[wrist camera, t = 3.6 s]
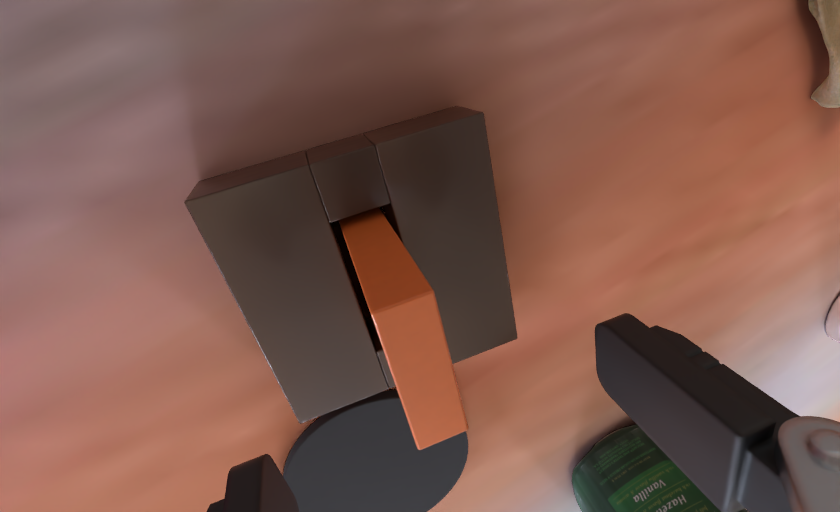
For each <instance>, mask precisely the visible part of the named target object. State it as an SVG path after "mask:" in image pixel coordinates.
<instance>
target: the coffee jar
mask: <svg viewBox="0 0 840 512" xmlns="http://www.w3.org/2000/svg"><path fill="white" fill-rule="evenodd" d="M572 484H573V489H574V494H575V497H576V500H577V503H578V505H579V507H580V509H581V511H582V512H721V511H720V510H719V509H718V508H717V507H716V506H715V505H714V504H713V503H712V502H711V501H710V500H709V499H708V498H707V497H706V496H705V495H704V494H703V493H702V492H701V491H700V489H699V488H698V487H697V486H696V485H695V484H694V483H693V482H692V481H691V480H690V479H689V478H688V477H687V476H686V475H685V474H684V473H683V472H682V471H681V470H680V469H679V468H678V467H677V466H676V465H675V463H674V462H673V461H672V460H671V459H670V458H669V457H668V456H667V455H666V454H665V453H664V452H663V451H662V450H661V449H660V448H659V447H658V446H657V445H656V444H655V443H654V442H653V441H652V440H651V439H650V437H649V436H648V435H647V434H646V433H645V432H644V431H643V430H642V429H641V428H640V427H639V426H638V425H637V424H636V425H632V426H629V427H624V428H621V429H619V430H616V431H614V432H612V433H611V434H609V435H607V436H605V437H604V438H603V439H601V440H600V441H599V442H597V443H596V444H595V446H594V447H593V448H592V449H591V451H589V452H588V454H587V455H586V456H585V457H584V458H583V459H582V460H581V461H580V462H579V463H578V465H576V467H575V468H574V470H573V474H572ZM738 512H748V511H747V510H746V509H745V508H744V509H742V510H740V511H738Z"/></svg>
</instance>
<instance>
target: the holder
mask: <svg viewBox="0 0 840 512" xmlns="http://www.w3.org/2000/svg"><path fill="white" fill-rule="evenodd" d="M185 204H186V206H187V208H188V210H189V212H190V214H191V216H192V218H193V220H194V222H195V224H196V226H197V227H198V229H199V231H200V233H201V235H202V237H203V239H204V241H205V243H206V245H207V247H208V249H209V250H210V252H211V254H212V256H213V258H214V260H215V262H216V264H217V266H218V268H219V270H220V272H221V274H222V275H223V277H224V279H225V281H226V283H227V285H228V287H229V289H230V291H231V293H232V295H233V297H234V298H235V300H236V302H237V304H238V306H239V308H240V310H241V312H242V314H243V316H244V318H245V320H246V321H247V323H248V325H249V327H250V329H251V331H252V333H253V335H254V337H255V339H256V341H257V343H258V345H259V346H260V348H261V350H262V352H263V354H264V356H265V358H266V360H267V362H268V364H269V366H270V368H271V369H272V371H273V373H274V375H275V377H276V379H277V381H278V383H279V385H280V387H281V389H282V391H283V392H284V394H285V396H286V398H287V400H288V402H289V404H290V406H291V408H292V410H293V412H294V414H295V416H296V417H297V419H298V421H299V423H303V422H306V421H308V420H311V419H313V418H316V417H319V416H321V415H324V414H326V413H329V412H331V411H334V410H336V409H339V408H341V407H344V406H347V405H349V404H352V403H354V402H357V401H359V400H362V399H364V398H367V397H370V396H372V395H375V394H377V393H380V392H382V391H385V390H387V389H388V388H392V387H395V383H394V380H393V377H392V374H391V371H390V368H389V365H388V363H387V360H386V357H385V354H384V351H383V348H382V345H381V342H380V339H379V337H378V334H377V331H376V328H375V325H374V322H373V319H372V318H370V319H367V320H365V317H364V314H363V311H362V308H361V306H360V303H359V300H358V297H357V294H356V291H355V289H354V286H353V283H352V280H351V277H350V275H349V272H348V269H347V266H346V263H345V261H344V258H343V255H342V252H341V249H340V247H339V244H338V241H337V238H336V235H335V233H334V230H333V227H332V224H331V222H334V221H337V220H340V219H343V218H347V217H350V216H353V215H356V214H359V213H362V212H365V211H368V210H371V209H374V208H378V207H381V206H383V207H384V210H385V214H386V217H387V220H388V222H389V223H390V225H391V226H392V228H393V230H394V231H395V233H396V234H397V236H398V237H399V239H400V240H401V242H402V243H403V245H404V246H405V248H406V249H407V251H408V252H409V254H410V255H411V257H412V258H413V260H414V262H415V263H416V265H417V266H418V268H419V269H420V271H421V272H422V274H423V275H424V277H425V278H426V280H427V281H428V283H429V284H430V286H431V287H432V289H433V290H434V293H435V297H436V301H437V305H438V309H439V313H440V317H441V321H442V325H443V329H444V333H445V337H446V341H447V345H448V349H449V353H450V356H451V360H452V364H454V363H456V362H459V361H461V360H464V359H466V358H469V357H472V356H474V355H477V354H479V353H482V352H484V351H487V350H489V349H492V348H494V347H497V346H500V345H502V344H505V343H507V342H510V341H512V340H515V339H517V331H516V325H515V318H514V311H513V305H512V298H511V292H510V285H509V278H508V272H507V265H506V258H505V252H504V245H503V238H502V232H501V225H500V219H499V212H498V205H497V199H496V192H495V185H494V179H493V172H492V166H491V159H490V152H489V146H488V139H487V132H486V126H485V119H484V113H483V112H480V111H476V110H472V109H468V108H464V107H460V106H455V107H451V108H448V109H444V110H441V111H437V112H434V113H431V114H427V115H424V116H420V117H417V118H414V119H410V120H407V121H403V122H400V123H397V124H393V125H390V126H386V127H383V128H379V129H376V130H373V131H369V132H366V133H363V134H359V135H356V136H352V137H349V138H345V139H342V140H339V141H335V142H332V143H328V144H325V145H321V146H318V147H315V148H311V149H308V150H306V152H305V151H301V152H298V153H294V154H291V155H287V156H284V157H281V158H277V159H274V160H270V161H267V162H264V163H260V164H257V165H253V166H250V167H246V168H243V169H240V170H236V171H233V172H229V173H226V174H223V175H219V176H216V177H212V178H209V179H206V180H202V181H199V182H198V183H197V185H196V186H195V188H194V189H193V190H192V192H191V193H190V195H189V196H188V197H187V199H186V200H185Z"/></svg>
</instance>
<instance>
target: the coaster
mask: <svg viewBox="0 0 840 512" xmlns="http://www.w3.org/2000/svg"><path fill="white" fill-rule="evenodd" d="M467 454H468V439H467V434H466V431H464V432H462V433H460V434H457V435H455V436H453V437H450V438H448V439H445V440H443V441H441V442H438V443H436V444H434V445H431V446H429V447H426V448H424V449H422V450H419V449H418V448H417V446H416V443H415V440H414V438H413V435H412V432H411V429H410V426H409V423H408V420H407V417H406V414H405V412H404V409H403V406H402V403H401V400H400V397H399V394H398V391H397V390H390V391H382V392H380V393H377V394H375V395H372V396H370V397H367V398H364V399H362V400H359V401H357V402H354V403H352V404H349V405H347V406H344V407H341V408H339V409H336V410H334V411H331V412H329V413H326V414H324V415H323V416H321V417H320V418H318V419H317V420H316V421H315V422H314V423H312V424H311V425H310V426H309V427H308V428H307V429H306V430H305V431H304V432H303V434H302V435H301V436H300V437H299V438H298V440H297V441H296V443H295V444H294V446H293V447H292V449H291V451H290V453H289V455H288V457H287V460H286V463H285V466H284V473H283V477H284V479H285V481H286V482H287V484H288V486H289V487H290V489H291V491H292V492H293V494H294V496H295V498H296V501H297V504H298V508H299V512H427V511H428V510H430V509H431V508H433V507H434V506H435V505H436V504H437V503H438V502H440V501H441V500H442V499H443V498H444V497H445V496H446V495H447V494H448V492H449V491H450V490H451V489H452V488H453V486H454V485H455V483H456V482H457V480H458V479H459V477H460V475H461V473H462V471H463V469H464V466H465V463H466V460H467Z"/></svg>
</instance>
